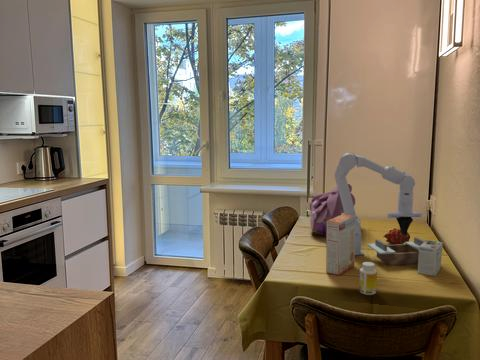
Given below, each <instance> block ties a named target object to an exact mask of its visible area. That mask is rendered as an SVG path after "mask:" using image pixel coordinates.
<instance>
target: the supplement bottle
mask: <svg viewBox="0 0 480 360" xmlns="http://www.w3.org/2000/svg"><path fill="white" fill-rule="evenodd" d="M377 273H378V271H377V269H376V267H375V263H374V262H370V261H365V262H362V267H360V269H359V292H360V293H361V294H363V295H366V296H373V295H375V294H376V293H377V276H378V275H377Z"/></svg>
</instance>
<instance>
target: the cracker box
mask: <svg viewBox="0 0 480 360" xmlns="http://www.w3.org/2000/svg"><path fill="white" fill-rule="evenodd" d="M325 237H326V242H325V243H326V250H325V251H326V252H325V253H326V254H325V255H326V259H325V261H326V262H325V263H326V264H325V266H326V268H325V271H326V273H327V274H332V275H334V276H341V275H343V274H344V273H346V271H348V270H350V269H351V268H353V267H354V266H355V256H356V255H355V216H353V215H346V214H345V213H341V215H340V216H337V217H335V218H333V219H330V220H328V221H327V233H326V236H325Z"/></svg>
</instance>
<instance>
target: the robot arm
mask: <svg viewBox="0 0 480 360" xmlns="http://www.w3.org/2000/svg"><path fill="white" fill-rule="evenodd" d="M355 167H356V168H367V169H368V170H371V171H374V172H376V173H378V174H380V175H381V177H382V179H384V180H386V181H388V182H390V183H392V184H394V185H399V188H398V189H399V191H398V200H397V211H395V212H387V216H386V217H387V218H388V219H396V221H397V223H398V225H399V230H401V234H403V235H406V233H407V232H408V230H409V227H411V224H412V222H413V221H414V218H423V213H422V212H420V211H413V205H414V204H413V202H414V187H415V186H416V182H415V178H413V176H412V175H411V174H409V173H406V172H405V171H400V169H399V170H398V169H397V168H396V167H395V166H394V165H391V166H389V165H388V166H383V165H381V164H379V163H377V162H374V161H373V160H371V159H369V158H366V157H365V156H361V155H359V154H354V153H353V152H346V153H344V154H343V155H342V156H341V157H340V159H339V161H338V164H337V167H336V169H335V170H334V171H335V172H334V179H335V182H336V187H338V191H339V194H340V198H341V202H342V205H343V209H344V213H343V214H346V215H353V216H355V256H360V255H361V256H362V255H365V252H363V251H362V234H363V233H362V225H361V219H360V218H359V217H358V215H357V213H356V210H355V205H353V202H352V198H351V194H352V193H351V194H350V191H349V187H348V184H349V183H348V180H347V176H348V174H349V173H350V171H352V170H353V169H354V168H355Z"/></svg>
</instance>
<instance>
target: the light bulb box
mask: <svg viewBox="0 0 480 360" xmlns="http://www.w3.org/2000/svg"><path fill="white" fill-rule="evenodd" d="M423 241H424V242H423V244H422V245H420V246H419V257H418V265H417V274H422V275H428V276H433V277H436V276H437V275H438V273H439V271H440V270H441V269H442V268H441V267H442V256H443V244H444V243H443V242H441V241H434V240H428V239H424V240H423Z"/></svg>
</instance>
